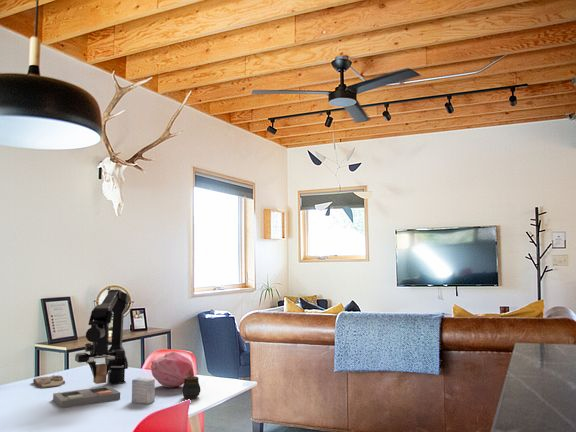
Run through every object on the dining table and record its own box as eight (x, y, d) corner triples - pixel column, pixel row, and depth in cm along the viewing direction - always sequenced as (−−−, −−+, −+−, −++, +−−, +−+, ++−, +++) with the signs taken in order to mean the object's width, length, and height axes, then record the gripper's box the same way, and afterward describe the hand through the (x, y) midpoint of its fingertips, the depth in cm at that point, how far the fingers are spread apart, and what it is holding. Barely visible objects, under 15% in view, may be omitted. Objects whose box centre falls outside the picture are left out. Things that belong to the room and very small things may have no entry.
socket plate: (109, 391, 223) (109, 384, 223) (120, 399, 212) (120, 391, 212) (53, 399, 210) (53, 391, 210) (61, 408, 199) (61, 399, 199)
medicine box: (154, 401, 208) (155, 379, 209) (147, 404, 204) (147, 381, 205) (138, 399, 212) (139, 377, 212) (131, 402, 208) (131, 379, 208)
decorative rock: (194, 382, 241) (194, 348, 242) (193, 390, 227) (194, 354, 228) (151, 383, 237) (151, 349, 239) (148, 391, 223) (148, 355, 225)
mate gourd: (184, 401, 209) (185, 375, 210) (179, 396, 216) (179, 371, 217) (202, 398, 213) (202, 373, 214) (196, 394, 219) (196, 369, 220)
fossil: (56, 380, 247) (57, 372, 247) (67, 386, 235) (67, 378, 235) (30, 383, 239) (31, 375, 240) (40, 390, 228) (41, 381, 228)
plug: (103, 380, 219) (103, 363, 220) (106, 382, 216) (106, 365, 216) (93, 382, 217) (93, 364, 217) (96, 384, 213) (96, 366, 214)
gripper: (117, 334, 230) (116, 370, 228) (72, 337, 219) (70, 376, 218) (126, 337, 221) (125, 375, 219) (79, 341, 210) (78, 381, 209)
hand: (99, 377), depth 216 cm, fingers closed on plug, 4 cm apart
